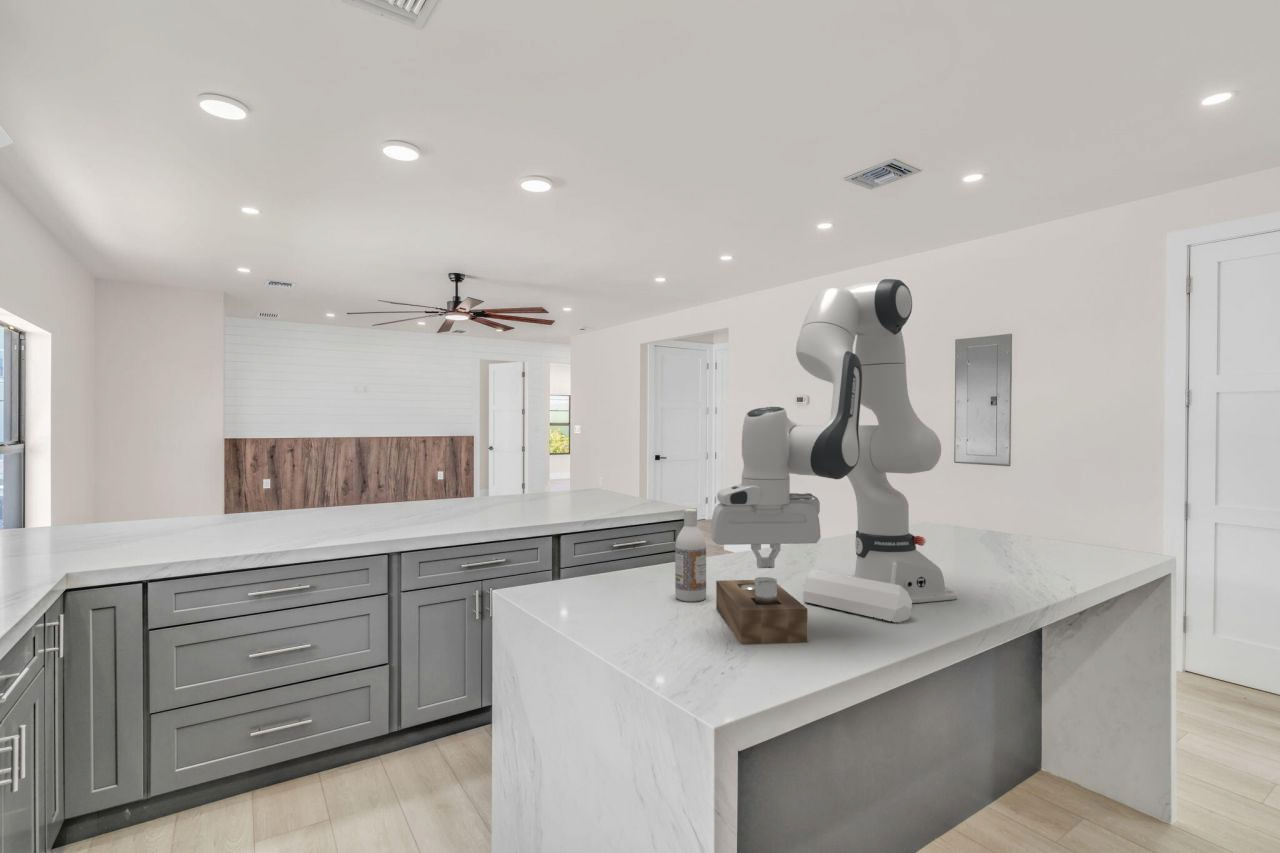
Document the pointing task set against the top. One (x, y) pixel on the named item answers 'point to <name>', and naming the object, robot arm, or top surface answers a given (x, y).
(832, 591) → the crystal
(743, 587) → the peg
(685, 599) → the bath foam
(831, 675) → the top surface
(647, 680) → the top surface
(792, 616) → the brown wooden block
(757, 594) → the peg
